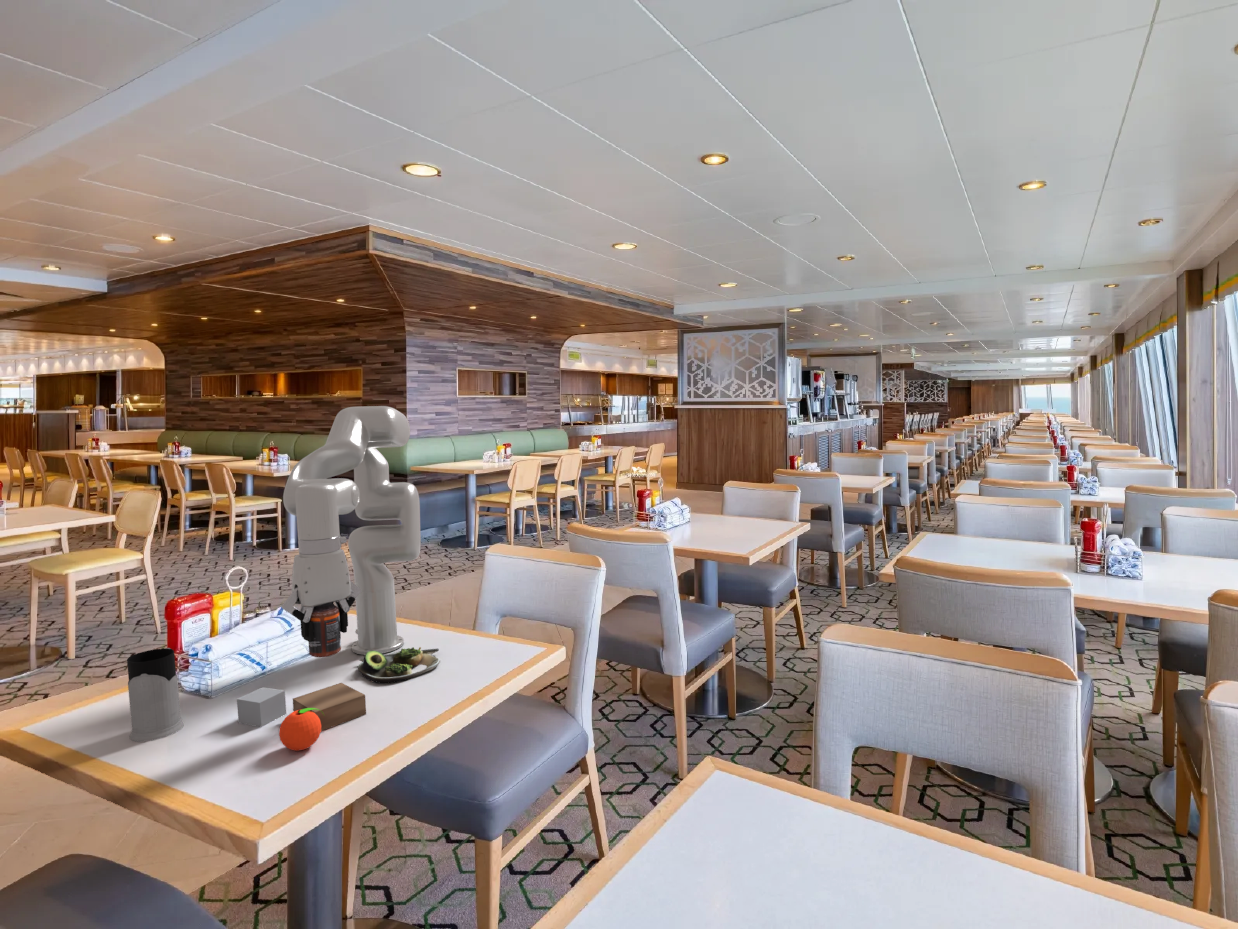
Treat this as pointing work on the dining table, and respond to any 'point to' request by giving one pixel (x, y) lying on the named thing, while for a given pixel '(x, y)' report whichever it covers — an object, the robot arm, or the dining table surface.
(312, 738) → the clementine
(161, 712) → the glass holder
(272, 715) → the grey block
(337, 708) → the walnut block
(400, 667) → the salad plate
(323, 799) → the dining table surface
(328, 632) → the supplement bottle
